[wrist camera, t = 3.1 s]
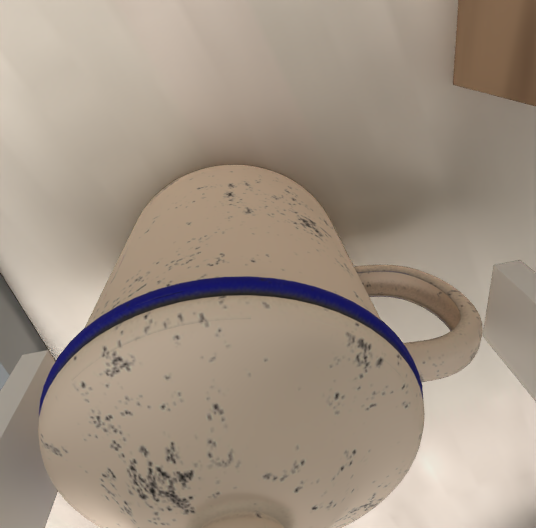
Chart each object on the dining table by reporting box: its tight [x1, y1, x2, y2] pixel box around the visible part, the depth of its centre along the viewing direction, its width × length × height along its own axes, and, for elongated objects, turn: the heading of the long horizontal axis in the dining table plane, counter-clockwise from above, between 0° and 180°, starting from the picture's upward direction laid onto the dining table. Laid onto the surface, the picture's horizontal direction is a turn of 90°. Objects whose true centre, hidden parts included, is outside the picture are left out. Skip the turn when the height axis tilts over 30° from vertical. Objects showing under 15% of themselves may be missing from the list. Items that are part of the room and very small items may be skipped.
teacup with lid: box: [38, 165, 483, 528], centre depth 12 cm, size 12×9×12 cm
